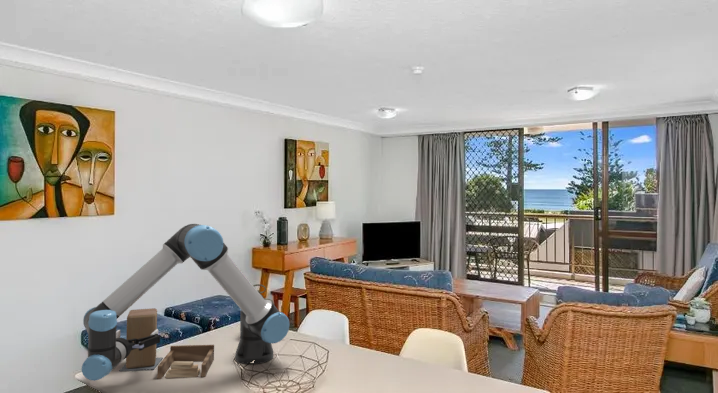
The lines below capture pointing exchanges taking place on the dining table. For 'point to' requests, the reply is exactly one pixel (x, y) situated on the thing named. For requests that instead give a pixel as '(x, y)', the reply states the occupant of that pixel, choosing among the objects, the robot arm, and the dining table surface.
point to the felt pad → (142, 367)
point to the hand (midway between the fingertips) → (138, 333)
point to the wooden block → (141, 336)
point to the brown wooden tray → (186, 361)
